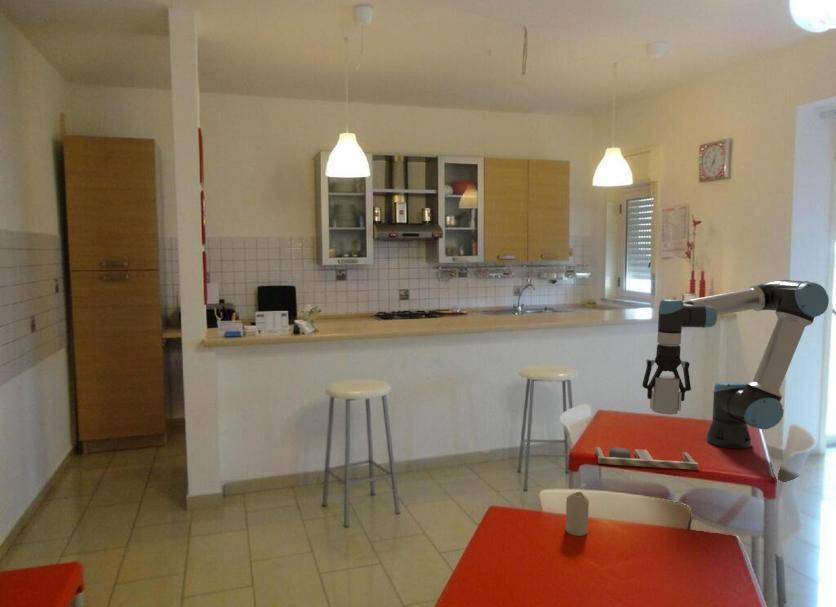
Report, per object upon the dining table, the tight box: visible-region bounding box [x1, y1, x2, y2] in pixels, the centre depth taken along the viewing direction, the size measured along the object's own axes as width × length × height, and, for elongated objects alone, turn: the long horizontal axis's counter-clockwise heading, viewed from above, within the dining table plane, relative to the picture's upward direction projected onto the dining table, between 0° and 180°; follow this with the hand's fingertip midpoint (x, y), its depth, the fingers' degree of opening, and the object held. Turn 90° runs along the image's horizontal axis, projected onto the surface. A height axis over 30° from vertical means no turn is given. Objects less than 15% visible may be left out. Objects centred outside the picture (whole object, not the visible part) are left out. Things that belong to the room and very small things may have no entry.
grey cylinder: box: [651, 374, 680, 415], centre depth 208 cm, size 8×8×12 cm
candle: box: [565, 491, 590, 537], centre depth 155 cm, size 6×6×10 cm
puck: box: [608, 447, 632, 458], centre depth 209 cm, size 7×7×3 cm
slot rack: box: [595, 446, 699, 471], centre depth 207 cm, size 32×12×2 cm, turn 81°
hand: (664, 409), depth 208 cm, fingers closed on grey cylinder, 8 cm apart
